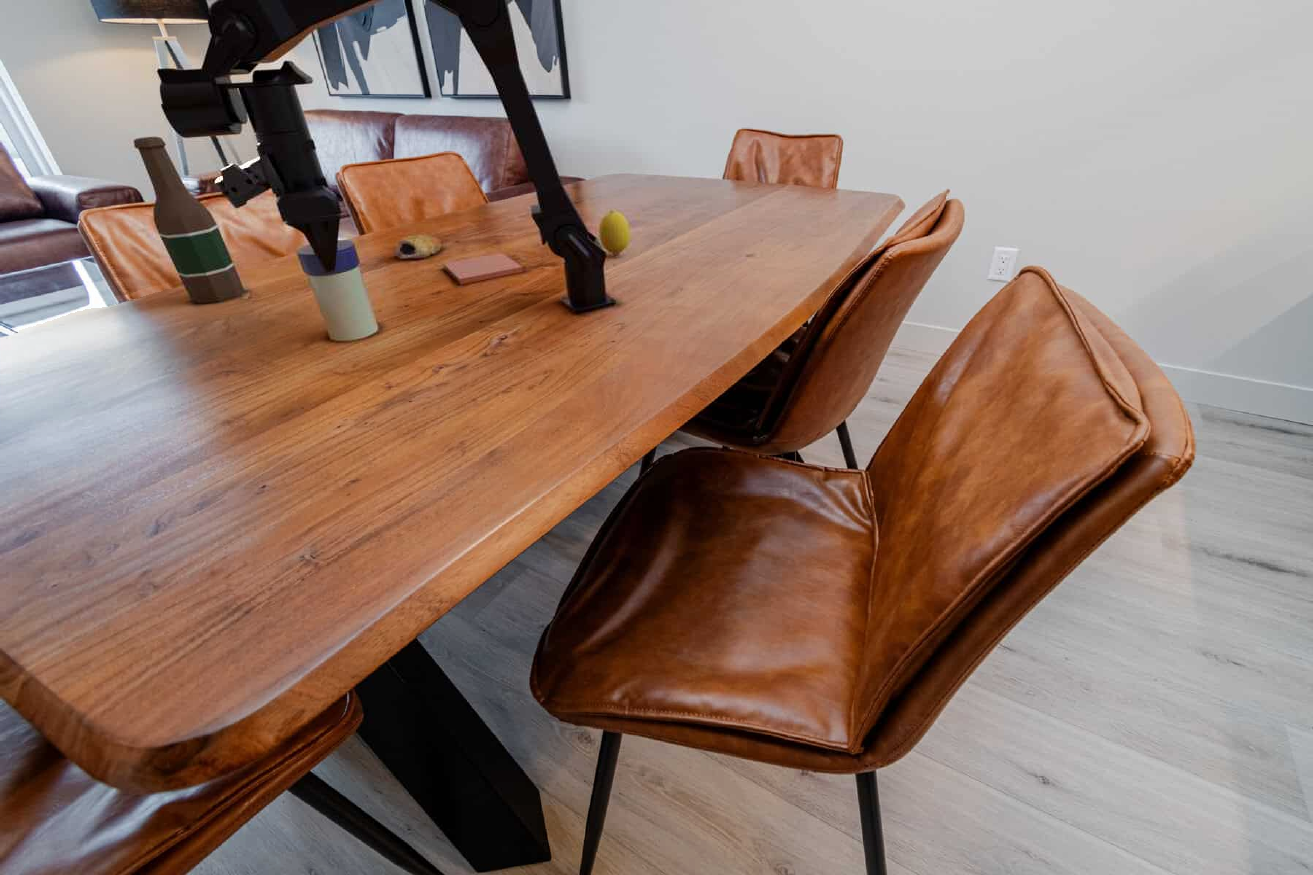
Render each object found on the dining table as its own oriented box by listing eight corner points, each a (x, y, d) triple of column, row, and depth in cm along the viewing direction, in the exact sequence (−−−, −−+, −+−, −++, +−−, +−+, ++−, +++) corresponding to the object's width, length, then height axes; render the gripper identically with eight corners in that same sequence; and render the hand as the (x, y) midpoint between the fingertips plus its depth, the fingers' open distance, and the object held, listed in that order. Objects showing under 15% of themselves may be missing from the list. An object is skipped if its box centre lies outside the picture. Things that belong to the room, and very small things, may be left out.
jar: (384, 332, 83) (358, 249, 77) (336, 345, 80) (305, 260, 74) (371, 320, 88) (345, 241, 82) (324, 332, 84) (294, 250, 78)
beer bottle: (219, 305, 97) (144, 140, 84) (180, 303, 98) (100, 142, 85) (255, 289, 103) (191, 134, 90) (218, 288, 105) (149, 135, 92)
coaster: (523, 272, 104) (522, 266, 104) (460, 284, 100) (459, 279, 99) (503, 258, 112) (502, 252, 112) (444, 269, 108) (443, 263, 107)
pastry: (422, 246, 122) (417, 227, 120) (451, 247, 121) (446, 228, 119) (393, 259, 115) (388, 239, 113) (424, 261, 113) (419, 240, 111)
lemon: (595, 258, 109) (591, 212, 105) (611, 250, 113) (607, 206, 109) (621, 261, 107) (618, 214, 103) (636, 253, 111) (633, 208, 107)
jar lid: (366, 266, 78) (360, 246, 77) (310, 278, 75) (302, 257, 74) (352, 256, 83) (346, 237, 82) (298, 267, 80) (291, 247, 78)
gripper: (206, 133, 74) (257, 259, 82) (196, 145, 60) (259, 296, 69) (305, 124, 78) (344, 245, 87) (317, 134, 65) (362, 277, 73)
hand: (327, 264), depth 79 cm, fingers open, 7 cm apart
